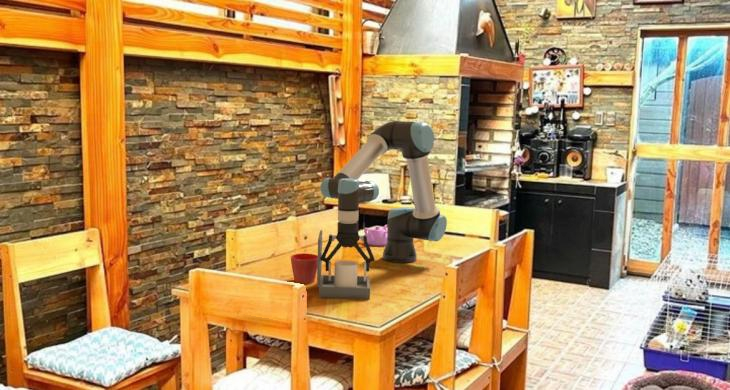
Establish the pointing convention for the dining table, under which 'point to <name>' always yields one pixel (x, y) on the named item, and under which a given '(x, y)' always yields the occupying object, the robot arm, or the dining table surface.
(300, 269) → the flower pot
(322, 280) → the case
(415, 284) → the dining table surface
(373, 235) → the pink toy pig
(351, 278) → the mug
